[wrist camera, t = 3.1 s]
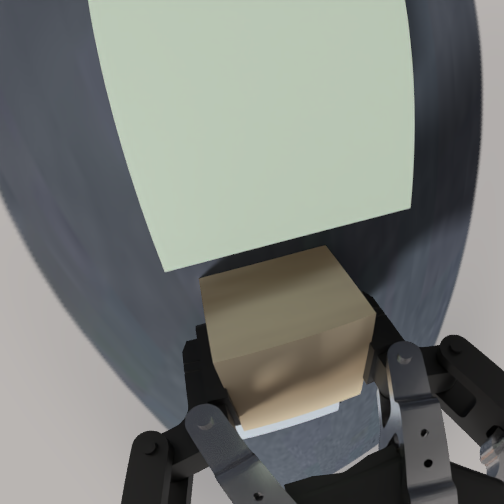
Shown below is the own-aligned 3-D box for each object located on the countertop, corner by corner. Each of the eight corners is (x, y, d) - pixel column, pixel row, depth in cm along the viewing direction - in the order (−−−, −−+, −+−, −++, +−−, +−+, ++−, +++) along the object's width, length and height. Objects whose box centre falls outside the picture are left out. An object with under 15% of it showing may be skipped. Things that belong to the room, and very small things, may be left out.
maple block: (198, 278, 12) (212, 363, 8) (325, 245, 12) (376, 313, 9) (226, 358, 15) (243, 431, 11) (326, 329, 15) (360, 393, 12)
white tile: (216, 386, 16) (217, 392, 15) (342, 348, 16) (345, 353, 16) (240, 434, 20) (241, 439, 19) (336, 405, 20) (338, 410, 20)
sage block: (130, 27, 7) (85, -15, 3) (297, 0, 7) (397, -37, 3) (167, 179, 10) (165, 272, 6) (316, 145, 10) (410, 208, 6)
